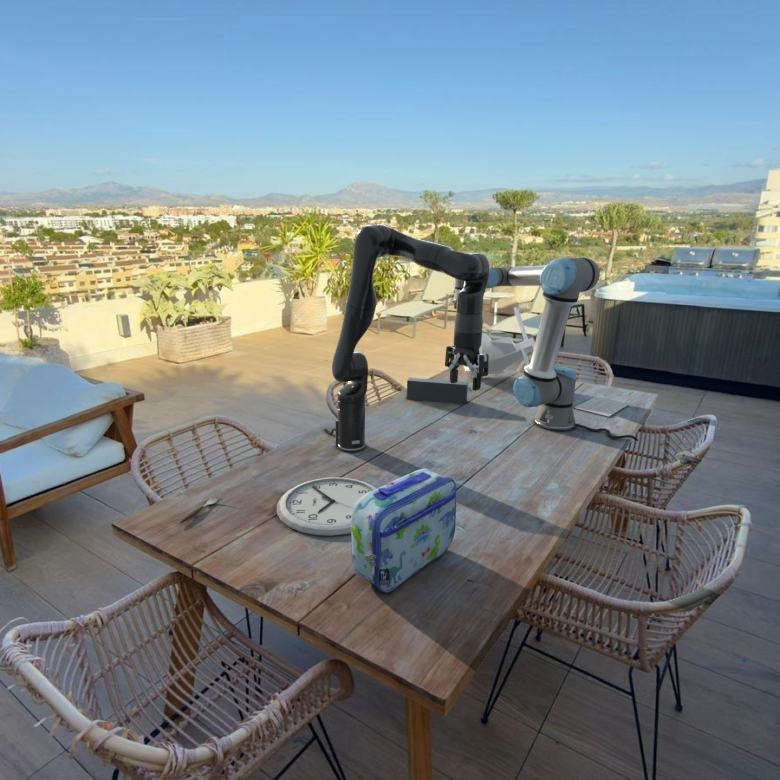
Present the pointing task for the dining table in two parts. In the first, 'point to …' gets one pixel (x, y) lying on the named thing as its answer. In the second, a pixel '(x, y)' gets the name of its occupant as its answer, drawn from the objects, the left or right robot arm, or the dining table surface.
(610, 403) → the invitation card
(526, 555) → the dining table surface
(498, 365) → the white plastic object
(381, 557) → the lunch box
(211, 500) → the fork
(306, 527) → the wall clock
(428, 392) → the bar
